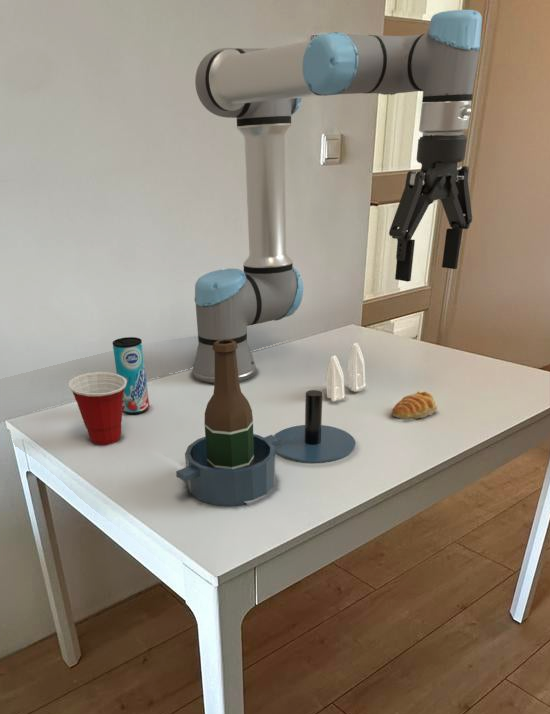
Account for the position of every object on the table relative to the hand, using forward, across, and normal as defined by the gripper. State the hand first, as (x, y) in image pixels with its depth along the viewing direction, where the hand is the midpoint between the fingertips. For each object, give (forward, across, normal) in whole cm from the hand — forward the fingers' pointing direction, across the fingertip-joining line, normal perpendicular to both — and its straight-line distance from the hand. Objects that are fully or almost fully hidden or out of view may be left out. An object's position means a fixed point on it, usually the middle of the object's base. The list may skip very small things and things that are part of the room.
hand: (426, 274), depth 112 cm
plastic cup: (+28, -49, +36) cm, 67 cm away
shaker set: (+28, +2, +18) cm, 34 cm away
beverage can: (+28, -36, +44) cm, 64 cm away
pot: (+28, -42, +5) cm, 51 cm away
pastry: (+28, +3, +2) cm, 28 cm away
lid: (+28, -22, +5) cm, 36 cm away
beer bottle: (+28, -42, +5) cm, 51 cm away
